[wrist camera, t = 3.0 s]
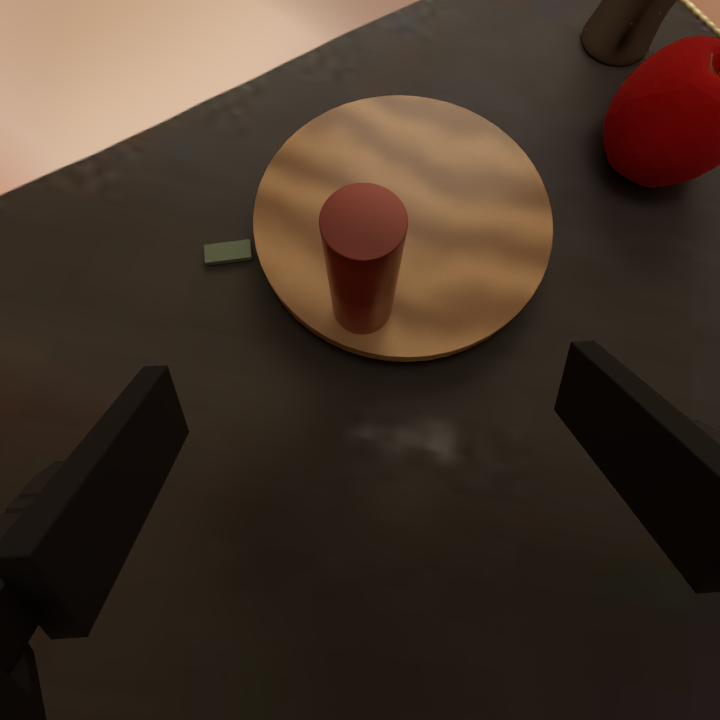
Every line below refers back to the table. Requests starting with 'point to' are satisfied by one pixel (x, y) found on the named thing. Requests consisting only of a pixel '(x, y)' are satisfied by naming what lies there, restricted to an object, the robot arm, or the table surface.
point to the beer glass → (623, 29)
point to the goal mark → (228, 252)
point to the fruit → (667, 116)
